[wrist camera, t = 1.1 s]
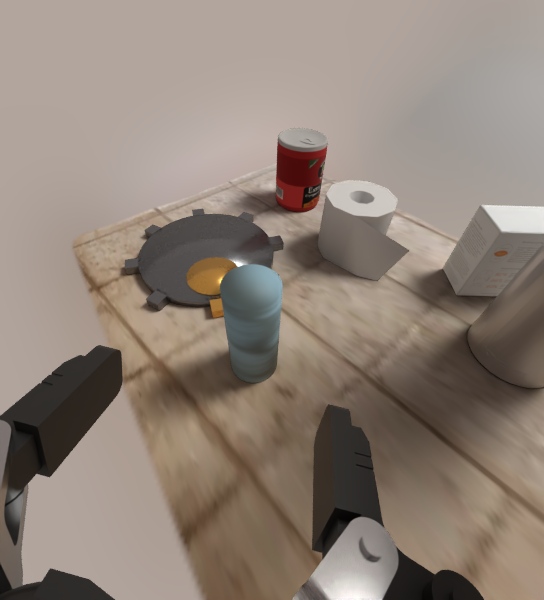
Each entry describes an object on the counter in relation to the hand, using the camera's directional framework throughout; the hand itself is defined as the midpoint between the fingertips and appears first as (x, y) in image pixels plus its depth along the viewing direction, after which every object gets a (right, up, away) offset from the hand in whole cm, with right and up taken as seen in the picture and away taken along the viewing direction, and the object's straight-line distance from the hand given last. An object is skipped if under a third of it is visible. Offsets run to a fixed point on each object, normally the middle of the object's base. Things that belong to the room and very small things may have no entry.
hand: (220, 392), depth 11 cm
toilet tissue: (+14, +10, +35) cm, 39 cm away
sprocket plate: (-7, +10, +33) cm, 35 cm away
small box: (+31, +6, +31) cm, 44 cm away
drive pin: (0, -3, +22) cm, 22 cm away
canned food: (+7, +22, +44) cm, 50 cm away
